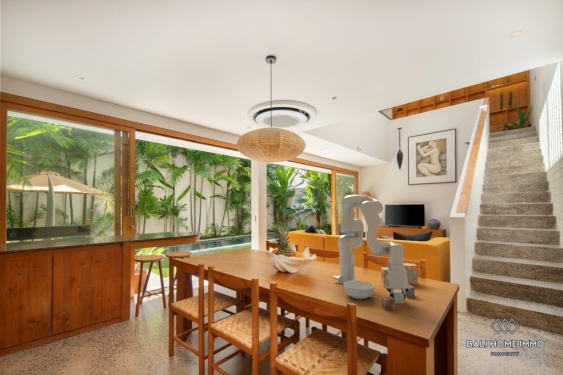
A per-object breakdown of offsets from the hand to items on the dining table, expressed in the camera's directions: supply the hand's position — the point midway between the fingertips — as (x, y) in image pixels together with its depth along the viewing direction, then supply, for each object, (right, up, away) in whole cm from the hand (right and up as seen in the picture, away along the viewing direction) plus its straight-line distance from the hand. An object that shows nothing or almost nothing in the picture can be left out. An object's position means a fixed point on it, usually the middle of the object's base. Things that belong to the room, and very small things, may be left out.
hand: (397, 300), depth 144 cm
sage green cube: (0, -1, 0) cm, 1 cm away
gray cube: (+10, -1, +10) cm, 14 cm away
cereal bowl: (-19, -2, +8) cm, 20 cm away
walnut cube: (-8, 0, -9) cm, 12 cm away
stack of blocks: (+16, -3, +33) cm, 37 cm away
